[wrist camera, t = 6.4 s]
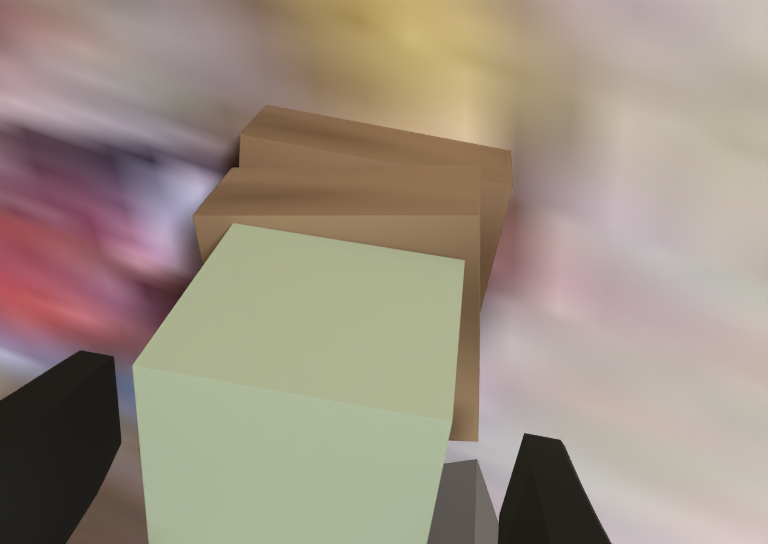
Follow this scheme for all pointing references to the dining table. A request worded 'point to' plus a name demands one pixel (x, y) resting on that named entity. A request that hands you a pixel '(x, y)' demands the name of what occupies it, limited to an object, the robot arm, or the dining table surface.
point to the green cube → (300, 394)
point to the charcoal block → (463, 507)
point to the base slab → (379, 159)
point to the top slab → (370, 230)
